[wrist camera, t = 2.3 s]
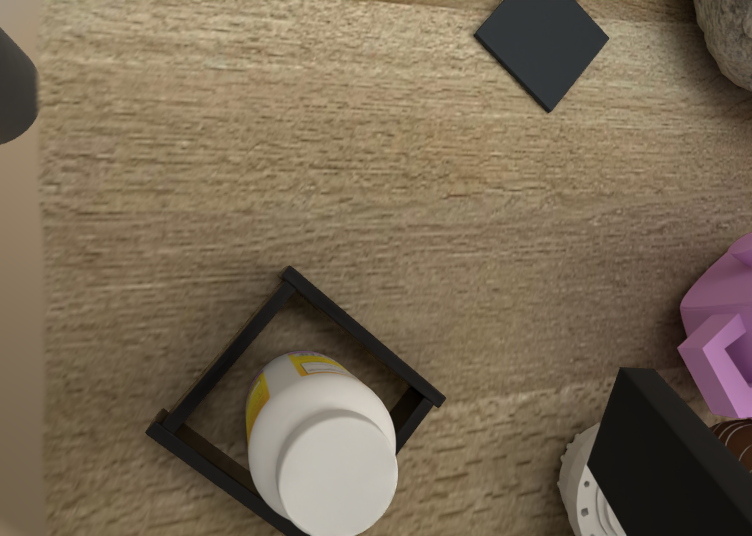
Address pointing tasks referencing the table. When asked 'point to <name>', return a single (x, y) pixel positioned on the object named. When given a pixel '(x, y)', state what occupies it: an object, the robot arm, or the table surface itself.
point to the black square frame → (170, 424)
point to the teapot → (722, 332)
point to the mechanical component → (585, 491)
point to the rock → (728, 36)
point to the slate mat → (542, 44)
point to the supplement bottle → (320, 445)
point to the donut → (737, 439)
